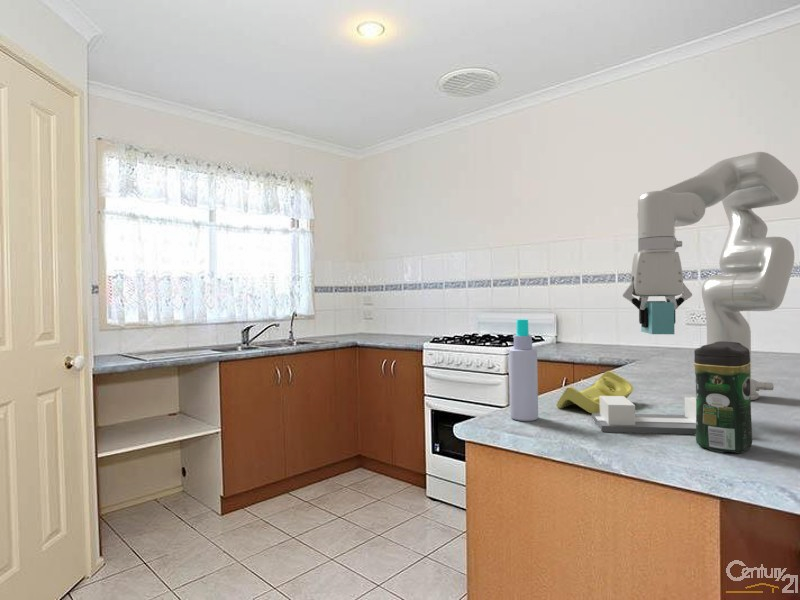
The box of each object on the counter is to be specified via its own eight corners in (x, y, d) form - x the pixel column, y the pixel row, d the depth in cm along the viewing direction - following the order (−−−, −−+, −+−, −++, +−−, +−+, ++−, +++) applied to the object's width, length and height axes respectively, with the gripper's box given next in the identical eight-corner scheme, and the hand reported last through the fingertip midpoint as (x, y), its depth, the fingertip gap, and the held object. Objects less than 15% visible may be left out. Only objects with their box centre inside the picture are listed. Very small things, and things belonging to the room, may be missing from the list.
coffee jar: (706, 436, 95) (705, 338, 95) (756, 445, 90) (755, 340, 89) (689, 447, 89) (687, 342, 89) (742, 457, 83) (740, 345, 83)
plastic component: (601, 407, 112) (563, 383, 118) (589, 433, 114) (553, 408, 121) (640, 388, 125) (604, 367, 131) (628, 412, 128) (593, 390, 134)
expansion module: (662, 331, 118) (661, 300, 118) (674, 334, 109) (674, 301, 109) (641, 331, 119) (641, 301, 119) (652, 334, 110) (651, 301, 110)
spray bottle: (544, 418, 111) (542, 319, 111) (526, 423, 108) (524, 320, 108) (522, 413, 116) (520, 318, 116) (504, 418, 113) (502, 319, 112)
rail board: (716, 421, 106) (716, 396, 106) (741, 436, 95) (741, 408, 95) (591, 418, 111) (591, 394, 111) (601, 431, 100) (601, 405, 100)
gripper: (691, 247, 116) (692, 326, 116) (613, 249, 120) (614, 326, 120) (703, 243, 109) (704, 328, 109) (620, 246, 112) (621, 328, 112)
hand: (657, 326), depth 114 cm, fingers closed on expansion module, 4 cm apart
